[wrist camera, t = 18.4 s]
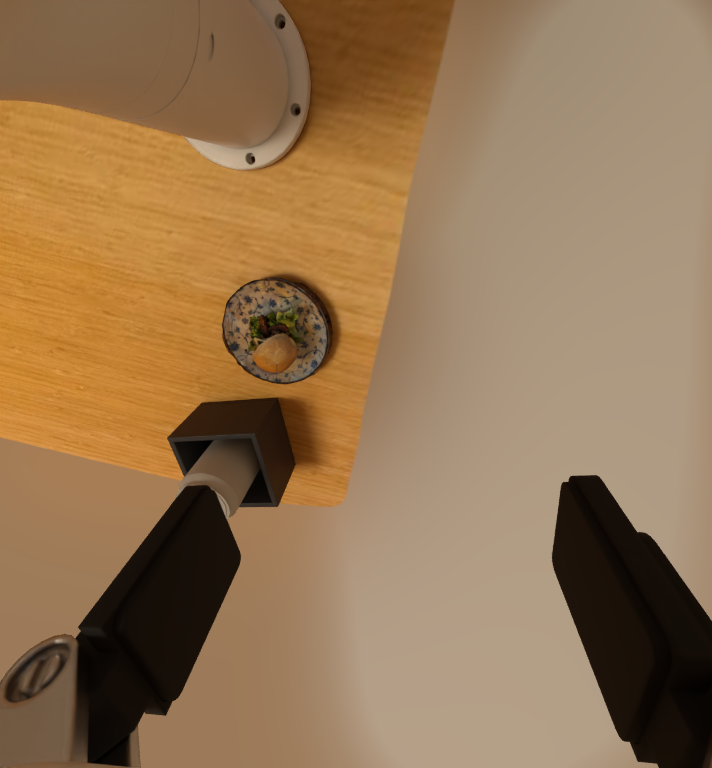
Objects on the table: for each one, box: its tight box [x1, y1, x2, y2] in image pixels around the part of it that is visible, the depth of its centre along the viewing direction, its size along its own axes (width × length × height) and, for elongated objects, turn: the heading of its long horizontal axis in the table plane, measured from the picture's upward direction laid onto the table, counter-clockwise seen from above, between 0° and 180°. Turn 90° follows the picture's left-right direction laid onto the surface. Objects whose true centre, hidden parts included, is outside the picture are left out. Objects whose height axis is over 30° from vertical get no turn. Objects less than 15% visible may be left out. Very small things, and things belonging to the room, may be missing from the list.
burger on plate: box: [222, 277, 333, 384], centre depth 37 cm, size 12×12×8 cm
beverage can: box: [176, 438, 260, 520], centre depth 42 cm, size 6×6×12 cm
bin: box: [167, 398, 296, 507], centre depth 45 cm, size 10×10×8 cm
